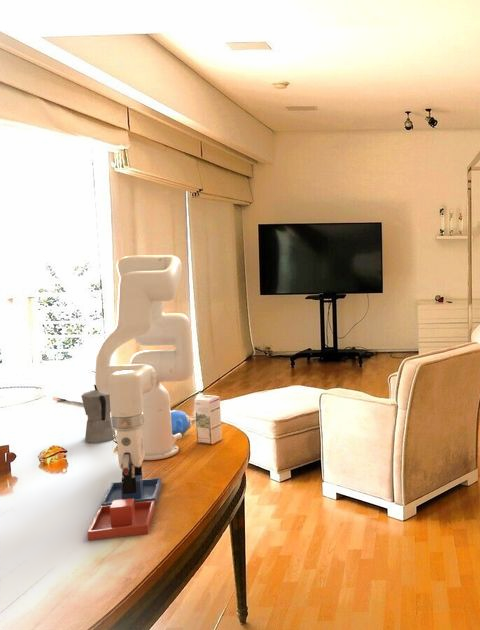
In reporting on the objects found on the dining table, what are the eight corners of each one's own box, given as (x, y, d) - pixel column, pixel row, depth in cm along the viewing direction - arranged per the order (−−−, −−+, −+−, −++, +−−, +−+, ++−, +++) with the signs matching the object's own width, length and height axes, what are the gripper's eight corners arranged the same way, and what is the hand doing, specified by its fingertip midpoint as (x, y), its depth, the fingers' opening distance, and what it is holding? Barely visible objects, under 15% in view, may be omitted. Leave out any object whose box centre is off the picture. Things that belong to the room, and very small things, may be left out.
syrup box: (222, 439, 217) (220, 395, 215) (211, 445, 211) (209, 399, 209) (207, 437, 219) (205, 394, 217) (196, 443, 213) (193, 398, 211)
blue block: (124, 493, 172) (123, 476, 172) (143, 491, 173) (142, 474, 173) (121, 500, 168) (120, 483, 167) (141, 498, 169) (140, 481, 168)
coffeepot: (80, 436, 221) (76, 382, 219) (111, 430, 227) (107, 378, 225) (90, 448, 209) (86, 391, 207) (122, 442, 215) (119, 387, 212)
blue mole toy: (205, 436, 220) (203, 411, 219) (167, 442, 214) (165, 417, 213) (195, 427, 230) (194, 403, 229) (159, 433, 224) (157, 408, 223)
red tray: (100, 514, 161) (100, 506, 161) (155, 508, 164) (154, 500, 164) (88, 540, 148) (87, 531, 147) (147, 533, 151) (147, 524, 150)
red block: (114, 518, 157) (113, 500, 157) (135, 516, 159) (134, 498, 158) (111, 526, 153) (109, 508, 153) (132, 524, 154) (131, 505, 154)
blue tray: (112, 489, 176) (111, 482, 176) (161, 484, 179) (161, 477, 179) (101, 511, 162) (101, 503, 162) (155, 505, 166) (155, 498, 165)
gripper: (139, 429, 161) (144, 497, 164) (148, 409, 178) (152, 471, 180) (105, 432, 159) (110, 501, 162) (117, 412, 176) (122, 474, 178)
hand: (132, 485), depth 171 cm, fingers open, 9 cm apart
